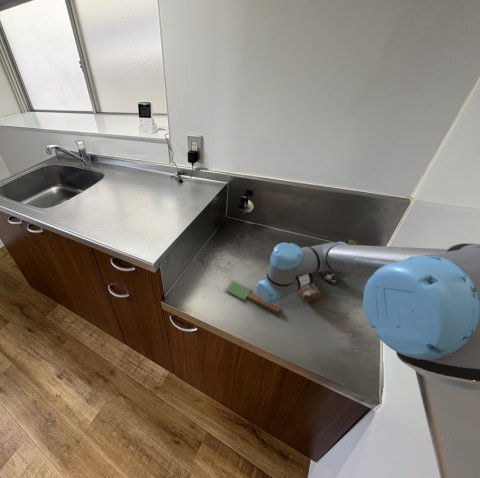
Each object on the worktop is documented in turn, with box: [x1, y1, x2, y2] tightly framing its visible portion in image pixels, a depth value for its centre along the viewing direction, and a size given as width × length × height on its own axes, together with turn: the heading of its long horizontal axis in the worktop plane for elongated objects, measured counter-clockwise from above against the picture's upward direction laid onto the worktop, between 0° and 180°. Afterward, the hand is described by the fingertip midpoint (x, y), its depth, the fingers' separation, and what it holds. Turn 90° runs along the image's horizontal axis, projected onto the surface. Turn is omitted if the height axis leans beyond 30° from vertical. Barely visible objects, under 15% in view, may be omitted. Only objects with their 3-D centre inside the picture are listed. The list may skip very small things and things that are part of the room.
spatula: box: [226, 281, 281, 315], centre depth 88 cm, size 18×5×1 cm, turn 49°
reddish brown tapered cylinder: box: [298, 282, 324, 303], centre depth 89 cm, size 6×19×6 cm, turn 177°
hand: (351, 250), depth 86 cm, fingers open, 6 cm apart
